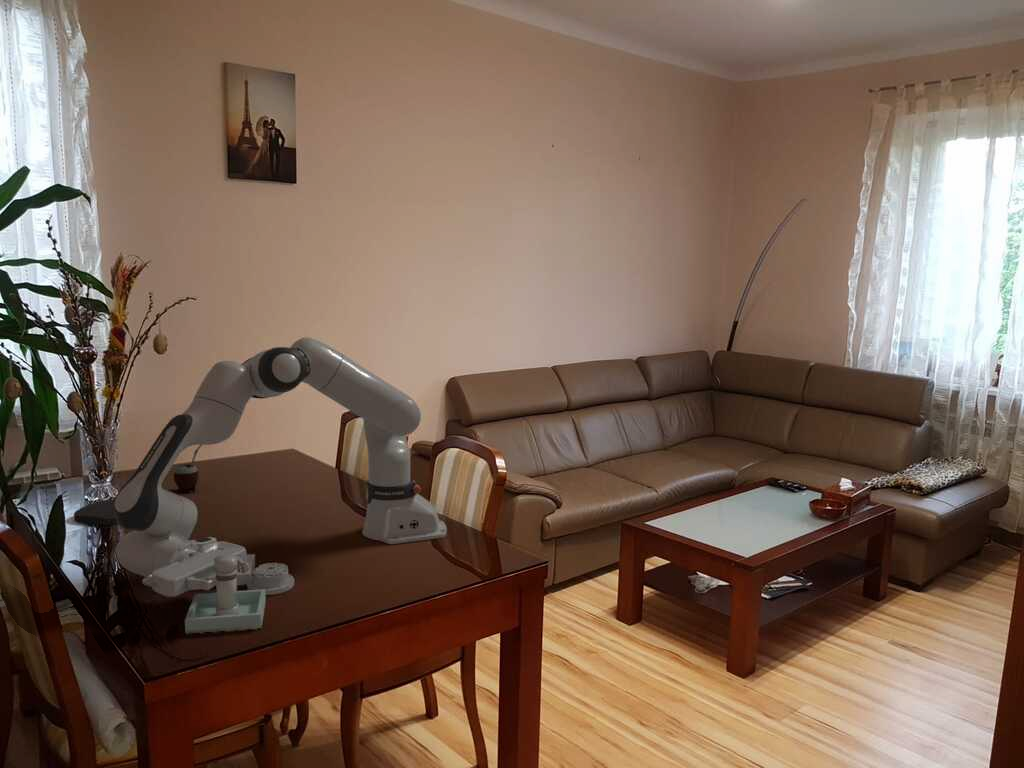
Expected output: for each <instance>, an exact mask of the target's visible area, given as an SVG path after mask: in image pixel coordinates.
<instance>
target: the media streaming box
mask: <svg viewBox="0 0 1024 768" xmlns="http://www.w3.org/2000/svg"><path fill="white" fill-rule="evenodd" d="M113 503H114V499H111V500H110V499H109V500H103V501H97V502H92V503H89V504H87V505H85V506H82V507H81V508H79V509H76V511H74V513H73V516H74V517H73V520H74V522H75V523H77V524H86V525H94V526H95V525H96V526H104V527H105V526H106V525H110V526H116V525H115V524H117V525H119V524H118V523H117V521H116V518H115V515H114V511H113ZM106 527H107V526H106Z"/></svg>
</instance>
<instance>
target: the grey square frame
mask: <svg viewBox="0 0 1024 768" xmlns="http://www.w3.org/2000/svg"><path fill="white" fill-rule="evenodd" d="M247 563H248V564H249V571H248V572H245V573H239V572H238V569H236V574H237V577H236V583H237V586H247V582H248V581H249V580H250V579H251V578H252V577H253V576H252V575H253V571H254V568H256V554H255V553H252V554H247ZM213 581H214V583H213V585H214V586H216V578H215V579H213ZM244 584H245V585H244Z"/></svg>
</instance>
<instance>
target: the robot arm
mask: <svg viewBox="0 0 1024 768" xmlns="http://www.w3.org/2000/svg"><path fill="white" fill-rule="evenodd" d="M301 383H304V384H307V385H308V386H310V387H311V388H312V389H314V390H316V391H317V392H318V393H321V394H322V395H324V396H325V397H327V398H329V399H331V400H332V401H334V402H335V403H337V404H339V405H340V406H342V407H344V408H345V409H347V410H348V411H350V412H351V413H353V414H355V415H357V416H358V417H359V418H361V419H363V426H364V427H363V428H364V434H365V440H366V446H367V447H366V448H367V453H368V454H367V456H368V457H367V459H368V460H367V461H368V463H367V464H368V465H367V466H368V476H367V477H368V478H367V479H368V480H367V481H366V487H365V488H366V489H365V491H366V492H365V493H366V495H365V496H366V498H365V499H366V503H367V507H366V513H365V519H364V525H363V528H362V531H361V532H362V535H363V536H364V537H366V538H368V539H371V540H375V541H380V542H383V543H385V544H387V545H388V544H389V545H396V544H403V543H410V542H419V541H426V540H433V539H442V538H444V537H445V536H446V535H447V533H448V531H447V525H446V524H445V522H444V521H443V520H441V519H440V518H439V513H438V511H437V508H436V507H435V506H434V504H433V503H432V502H430V501H429V500H428V499H426V498H424V497H423V496H422V495H420V493H421V491H422V488H421V485H419V484H418V483H417V482H416V480H415V479H411V450H410V447H409V443H408V440H407V436H408V435H411V434H413V433H414V432H415V431H416V430H417V428H418V427H419V425H420V423H421V419H422V412H421V410H420V407H419V406H418V404H417V402H415V400H414V399H413V398H412V397H410V396H409V395H408V394H406V393H405V392H403V391H401V390H400V389H399V388H396V386H394V385H392V384H390V383H388V382H387V381H385V380H384V379H383V378H381V377H379V376H377V375H375V374H374V373H373V372H371V371H369V370H368V369H366V368H365V367H363V366H361V365H360V364H358V363H357V362H356V361H354V360H352V359H351V358H349V357H347V356H346V355H345V354H343V353H341V352H340V351H338V350H337V349H335V348H334V347H331V346H329V345H327V344H326V343H324V342H322V341H319V340H317V339H315V338H312V337H309V336H305V337H301V338H299V339H297V340H296V341H294V342H293V343H292V344H291V346H290V347H286V346H285V347H284V346H278V347H277V346H276V347H272V348H270V349H265V350H264V351H261V352H258V353H257V354H255V355H254V356H252V357H250V358H248V359H246V360H245V361H244V362H243V363H241V364H240V363H239V362H237V361H233V360H221V361H217V362H216V363H214V365H213V366H212V367H211V368H210V370H209V371H208V372H207V373H206V375H205V377H204V379H203V381H202V382H201V383H200V385H199V387H198V389H197V391H196V393H195V395H194V398H193V399H192V401H191V403H190V405H189V406H188V407H187V408H186V410H185V411H184V412H183V413H181V414H177V415H175V416H173V417H172V418H171V419H170V420H169V421H168V422H167V424H166V425H165V426H164V428H162V430H161V431H160V433H159V435H158V436H157V438H156V439H155V440H154V442H153V444H152V445H151V447H150V448H149V450H148V452H146V455H145V456H144V458H143V459H142V461H141V462H140V463H139V465H138V467H137V469H136V470H135V472H134V473H133V474H132V476H131V477H130V478H129V479H128V480H127V481H126V483H125V484H123V486H122V487H121V489H119V490H118V492H117V494H116V495H115V497H114V499H113V500H114V503H113V511H114V515H115V518H116V521H117V523H118V524H117V525H118V526H120V527H121V528H123V529H128V530H131V531H129V532H127V533H125V534H124V535H122V537H120V539H119V540H118V543H117V545H116V550H115V553H116V557H117V560H118V563H120V565H121V566H122V567H123V568H125V569H126V570H128V571H129V572H132V573H134V574H135V575H140V576H142V577H144V578H143V579H142V581H141V582H142V584H143V585H144V586H147V587H151V589H152V590H153V591H154V592H156V593H158V594H159V595H162V596H165V597H169V598H171V597H172V598H173V597H177V596H179V595H181V594H183V593H187V592H188V591H192V590H193V591H194V590H195V591H196V590H204V591H209V590H211V589H213V588H215V587H214V585H213V583H214V581H213V579H215V578H216V571H215V570H214V558H216V557H217V556H220V555H226V554H232V555H236V556H237V563H238V567H237V569H238V572H239V573H245V572H248V571H249V564H248V563H247V555H248V554H247V550H246V548H245V547H244V546H242V545H239V544H234V543H232V542H228V541H217V538H216V537H212V536H208V537H203V538H199V539H192V536H193V535H194V533H195V531H196V528H197V525H198V521H199V510H198V506H197V504H196V503H195V502H194V501H193V500H192V499H189V498H187V497H184V496H183V495H181V494H179V493H178V494H177V493H175V492H172V491H169V490H167V489H164V488H162V484H163V481H164V479H165V478H166V476H167V475H168V473H169V472H170V470H171V468H172V467H173V465H174V463H175V462H176V460H177V459H178V457H179V456H180V454H181V453H182V452H183V451H184V450H185V449H187V448H189V447H192V446H200V445H202V446H212V445H218V444H220V443H222V442H224V441H226V440H228V439H229V438H231V436H232V435H234V433H235V431H236V430H237V427H238V426H239V423H240V422H241V419H242V416H243V413H244V411H245V408H246V405H247V404H248V403H249V400H251V398H253V399H259V400H260V399H261V400H262V399H268V398H275V397H278V396H281V395H283V394H285V393H287V392H290V391H292V390H294V389H296V388H297V387H298V386H299V385H300V384H301ZM190 539H191V540H190Z"/></svg>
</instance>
